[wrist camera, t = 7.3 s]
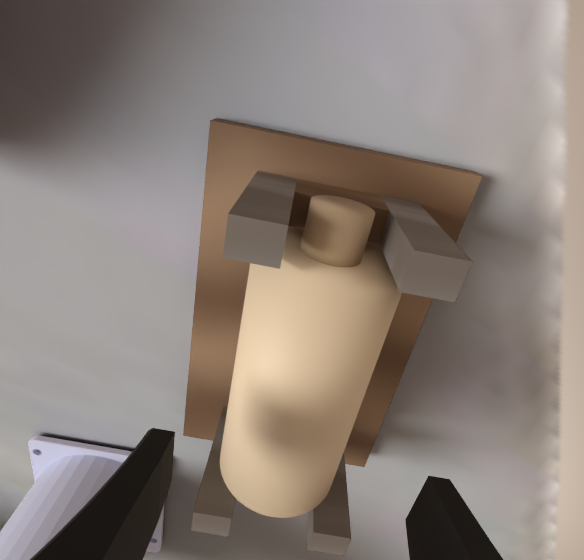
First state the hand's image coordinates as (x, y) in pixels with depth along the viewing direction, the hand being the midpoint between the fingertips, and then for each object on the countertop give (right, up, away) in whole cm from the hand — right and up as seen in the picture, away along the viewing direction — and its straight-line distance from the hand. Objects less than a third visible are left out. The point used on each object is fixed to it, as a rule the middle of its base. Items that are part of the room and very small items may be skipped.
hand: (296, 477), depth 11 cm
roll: (0, +3, +6) cm, 7 cm away
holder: (0, +4, +7) cm, 8 cm away
